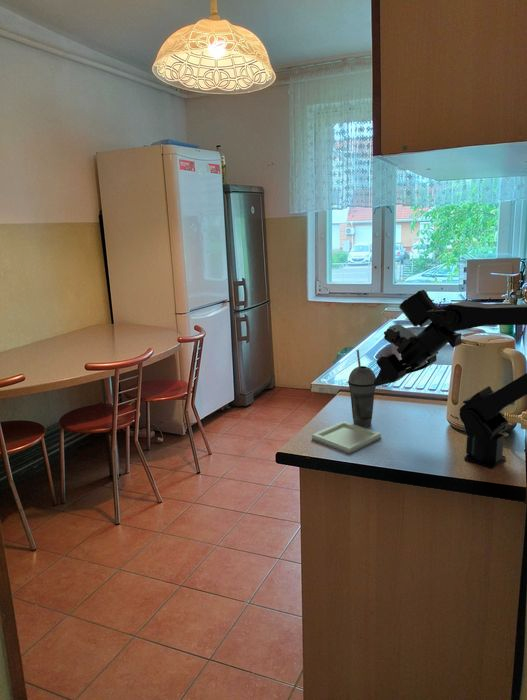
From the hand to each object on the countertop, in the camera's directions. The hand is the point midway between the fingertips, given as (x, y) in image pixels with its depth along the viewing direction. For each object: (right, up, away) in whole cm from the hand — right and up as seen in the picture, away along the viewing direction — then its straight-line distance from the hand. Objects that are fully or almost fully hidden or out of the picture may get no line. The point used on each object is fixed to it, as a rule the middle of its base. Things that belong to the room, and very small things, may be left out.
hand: (385, 379), depth 129 cm
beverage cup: (-4, -12, +8) cm, 15 cm away
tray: (-10, -14, -1) cm, 17 cm away
